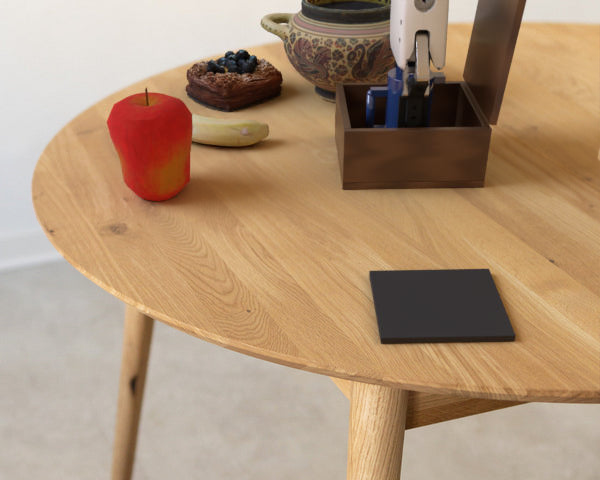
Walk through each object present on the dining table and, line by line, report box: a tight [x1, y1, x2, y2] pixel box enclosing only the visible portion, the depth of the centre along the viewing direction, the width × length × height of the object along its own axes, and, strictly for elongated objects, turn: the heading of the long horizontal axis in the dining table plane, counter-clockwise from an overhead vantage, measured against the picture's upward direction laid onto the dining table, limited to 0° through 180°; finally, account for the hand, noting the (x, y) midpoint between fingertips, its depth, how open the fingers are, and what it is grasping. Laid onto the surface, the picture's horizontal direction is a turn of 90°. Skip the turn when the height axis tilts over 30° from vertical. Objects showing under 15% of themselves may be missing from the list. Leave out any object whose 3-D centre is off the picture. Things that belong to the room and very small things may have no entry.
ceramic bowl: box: [259, 0, 395, 103], centre depth 106 cm, size 24×18×15 cm
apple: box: [106, 86, 193, 202], centre depth 82 cm, size 9×8×12 cm
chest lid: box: [462, 0, 527, 126], centre depth 83 cm, size 16×15×1 cm
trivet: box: [368, 268, 517, 344], centre depth 68 cm, size 11×10×1 cm
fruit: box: [191, 112, 270, 147], centre depth 97 cm, size 7×15×3 cm, turn 53°
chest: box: [334, 80, 493, 190], centre depth 90 cm, size 16×15×7 cm
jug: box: [365, 66, 447, 128], centre depth 89 cm, size 8×5×10 cm, turn 91°
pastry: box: [184, 49, 284, 113], centre depth 108 cm, size 11×12×6 cm
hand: (407, 118), depth 89 cm, fingers closed on jug, 5 cm apart
